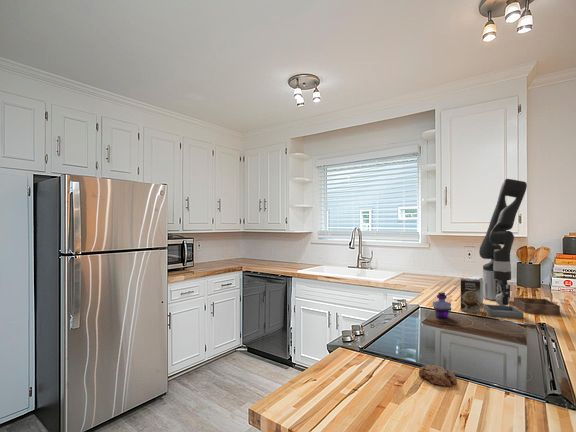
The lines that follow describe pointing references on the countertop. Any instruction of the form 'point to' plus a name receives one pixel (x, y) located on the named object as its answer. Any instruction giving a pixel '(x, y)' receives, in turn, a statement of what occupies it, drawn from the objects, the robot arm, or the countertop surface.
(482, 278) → the skincare box
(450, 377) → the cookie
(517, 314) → the charcoal tray
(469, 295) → the coffee box
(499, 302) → the frog figurine
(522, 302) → the walnut frame
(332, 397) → the countertop surface
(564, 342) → the countertop surface
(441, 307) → the potion bottle
